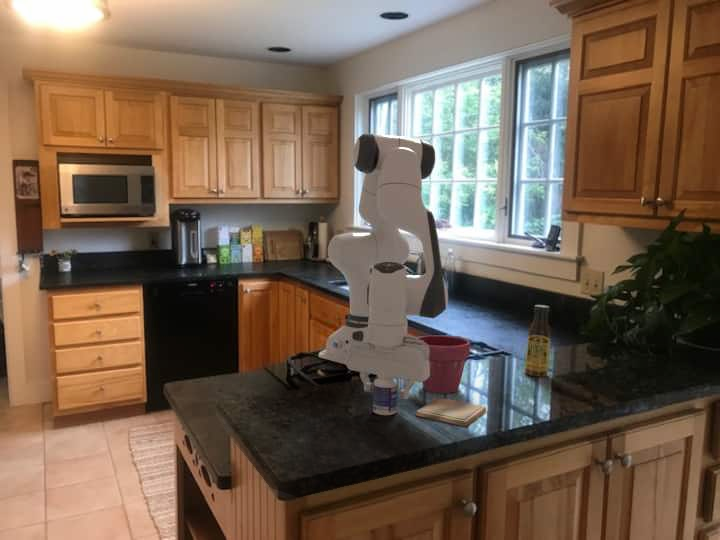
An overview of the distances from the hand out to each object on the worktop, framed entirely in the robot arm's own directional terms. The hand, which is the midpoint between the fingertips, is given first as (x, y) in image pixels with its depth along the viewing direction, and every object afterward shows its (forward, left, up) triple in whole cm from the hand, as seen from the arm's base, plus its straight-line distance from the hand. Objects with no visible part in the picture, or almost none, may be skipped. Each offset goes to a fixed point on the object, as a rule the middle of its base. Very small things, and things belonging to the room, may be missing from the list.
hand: (386, 394), depth 137 cm
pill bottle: (0, 0, -4) cm, 4 cm away
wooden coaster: (+13, +8, -4) cm, 16 cm away
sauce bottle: (+20, +52, -4) cm, 56 cm away
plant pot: (+3, +24, -4) cm, 25 cm away
